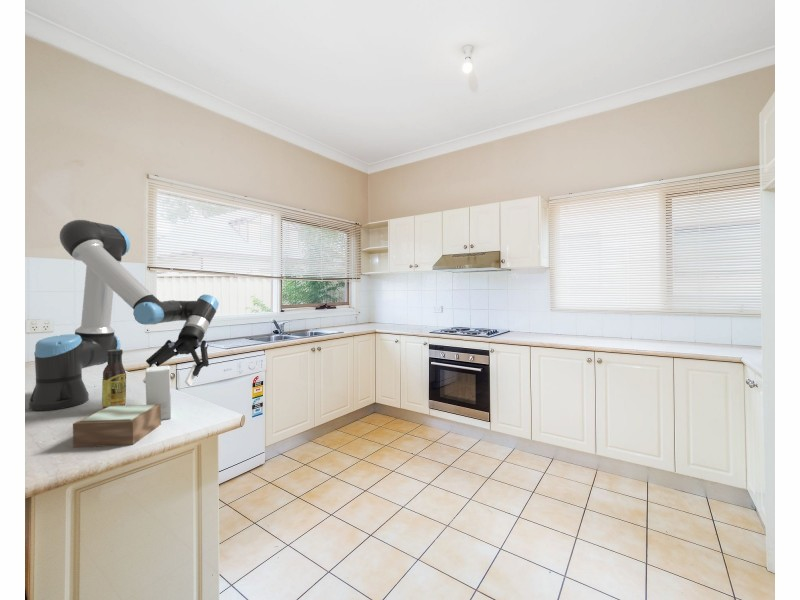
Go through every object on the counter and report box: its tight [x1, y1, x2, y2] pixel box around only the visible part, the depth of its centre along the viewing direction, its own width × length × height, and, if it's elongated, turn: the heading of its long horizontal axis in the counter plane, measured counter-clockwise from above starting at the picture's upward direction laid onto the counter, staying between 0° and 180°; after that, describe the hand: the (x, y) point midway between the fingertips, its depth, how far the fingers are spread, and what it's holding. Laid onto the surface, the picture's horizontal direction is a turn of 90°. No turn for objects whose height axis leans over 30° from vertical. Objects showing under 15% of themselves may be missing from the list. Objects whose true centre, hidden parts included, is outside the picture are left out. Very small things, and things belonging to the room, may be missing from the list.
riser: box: [72, 404, 162, 448], centre depth 100 cm, size 14×14×6 cm
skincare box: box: [145, 365, 172, 421], centre depth 114 cm, size 8×7×16 cm
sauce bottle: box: [101, 348, 127, 410], centre depth 121 cm, size 7×6×20 cm
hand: (166, 383), depth 116 cm, fingers open, 13 cm apart
